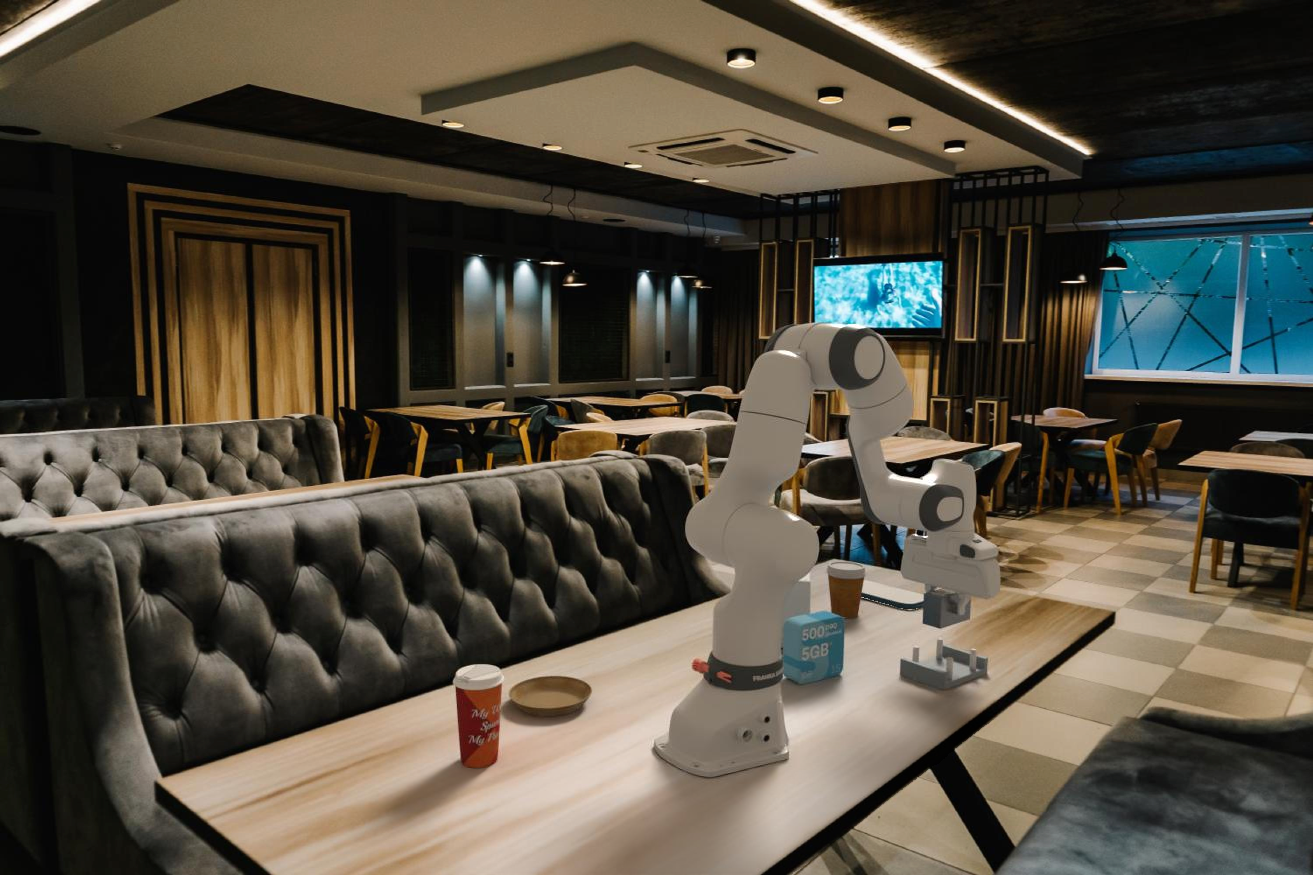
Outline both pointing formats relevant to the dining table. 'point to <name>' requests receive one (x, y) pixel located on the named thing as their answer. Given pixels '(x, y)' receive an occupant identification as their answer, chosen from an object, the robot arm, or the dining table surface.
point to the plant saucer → (550, 695)
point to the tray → (944, 666)
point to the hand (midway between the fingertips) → (946, 610)
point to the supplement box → (797, 601)
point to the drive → (943, 608)
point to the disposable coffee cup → (845, 587)
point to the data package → (813, 647)
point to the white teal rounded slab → (892, 595)
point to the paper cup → (478, 713)
